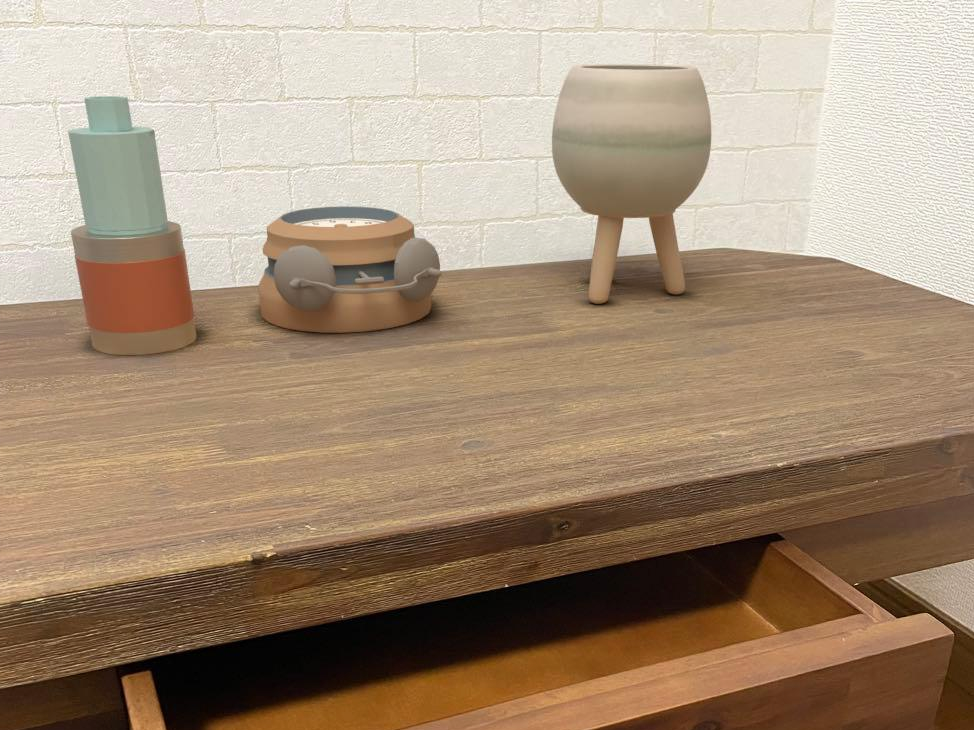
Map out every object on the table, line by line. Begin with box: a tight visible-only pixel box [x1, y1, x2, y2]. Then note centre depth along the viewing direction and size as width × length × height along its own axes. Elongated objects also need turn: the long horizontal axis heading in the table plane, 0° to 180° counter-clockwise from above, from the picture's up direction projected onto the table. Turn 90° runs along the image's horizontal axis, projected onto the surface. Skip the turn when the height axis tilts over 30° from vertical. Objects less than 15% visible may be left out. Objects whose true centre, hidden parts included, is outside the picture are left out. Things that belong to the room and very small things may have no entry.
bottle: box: [67, 95, 169, 236], centre depth 88 cm, size 7×7×10 cm
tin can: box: [70, 220, 198, 356], centre depth 93 cm, size 9×9×10 cm
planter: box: [551, 63, 712, 305], centre depth 108 cm, size 16×16×22 cm
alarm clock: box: [257, 205, 442, 334], centre depth 101 cm, size 17×9×23 cm
